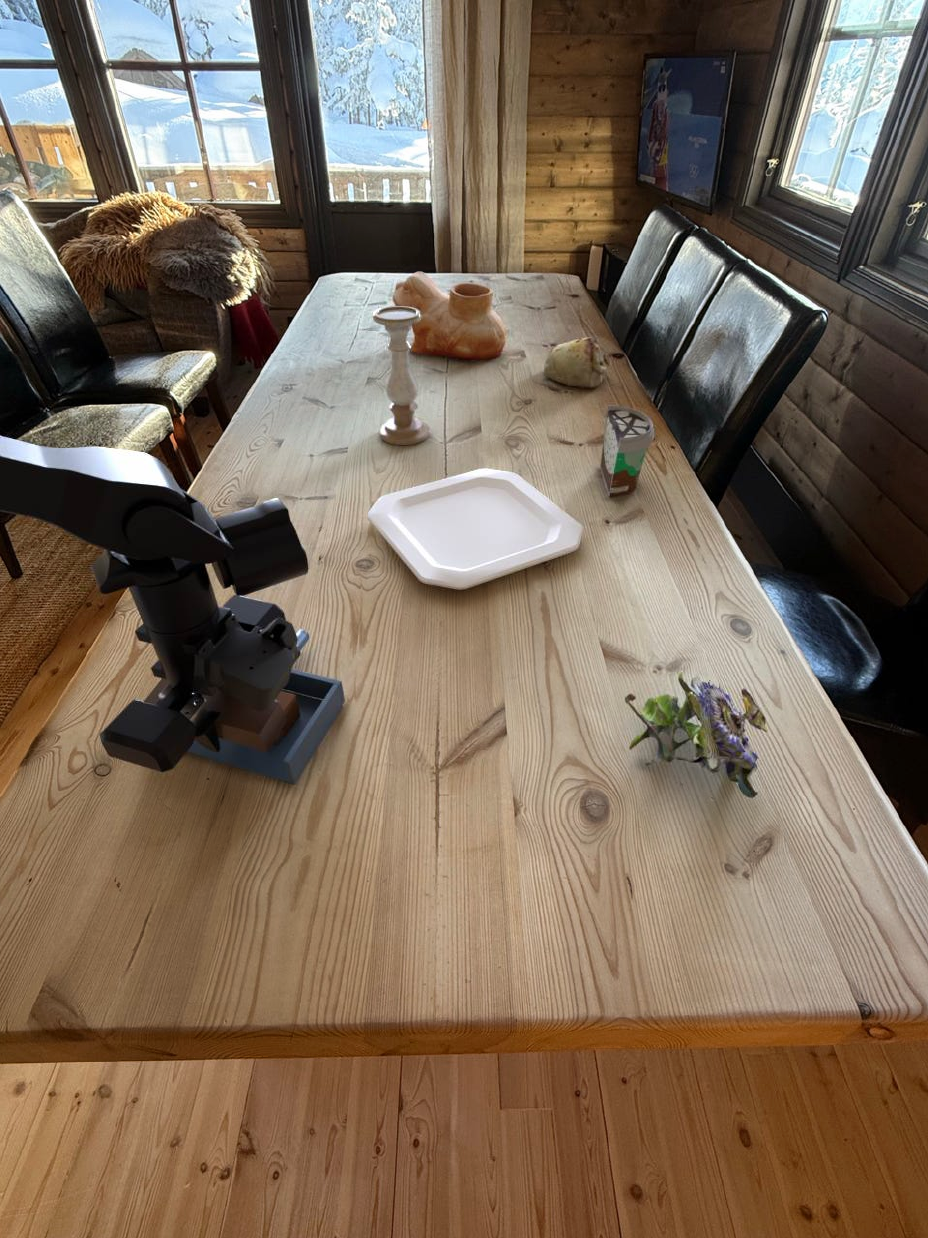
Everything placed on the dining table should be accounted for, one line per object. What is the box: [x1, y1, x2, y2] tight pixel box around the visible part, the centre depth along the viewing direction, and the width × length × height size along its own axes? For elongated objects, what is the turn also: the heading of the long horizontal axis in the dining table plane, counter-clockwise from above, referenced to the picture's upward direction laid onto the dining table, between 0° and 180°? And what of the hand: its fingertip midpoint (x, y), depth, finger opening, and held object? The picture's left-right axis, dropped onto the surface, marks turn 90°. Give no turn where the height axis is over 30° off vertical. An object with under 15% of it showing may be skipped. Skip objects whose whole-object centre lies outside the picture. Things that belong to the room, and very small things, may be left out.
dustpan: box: [185, 629, 346, 786], centre depth 68 cm, size 17×16×3 cm
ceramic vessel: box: [391, 271, 507, 363], centre depth 144 cm, size 14×26×15 cm, turn 67°
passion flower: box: [624, 670, 768, 799], centre depth 60 cm, size 11×11×12 cm
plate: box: [366, 468, 584, 590], centre depth 91 cm, size 25×25×2 cm
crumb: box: [275, 691, 300, 737], centre depth 65 cm, size 3×3×3 cm
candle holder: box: [372, 305, 431, 446], centre depth 109 cm, size 9×9×20 cm
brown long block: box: [143, 678, 287, 752], centre depth 61 cm, size 12×4×4 cm, turn 72°
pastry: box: [543, 336, 607, 389], centre depth 134 cm, size 14×12×8 cm
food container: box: [599, 404, 655, 498], centre depth 100 cm, size 12×6×10 cm, turn 179°
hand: (225, 735), depth 63 cm, fingers closed on brown long block, 3 cm apart
